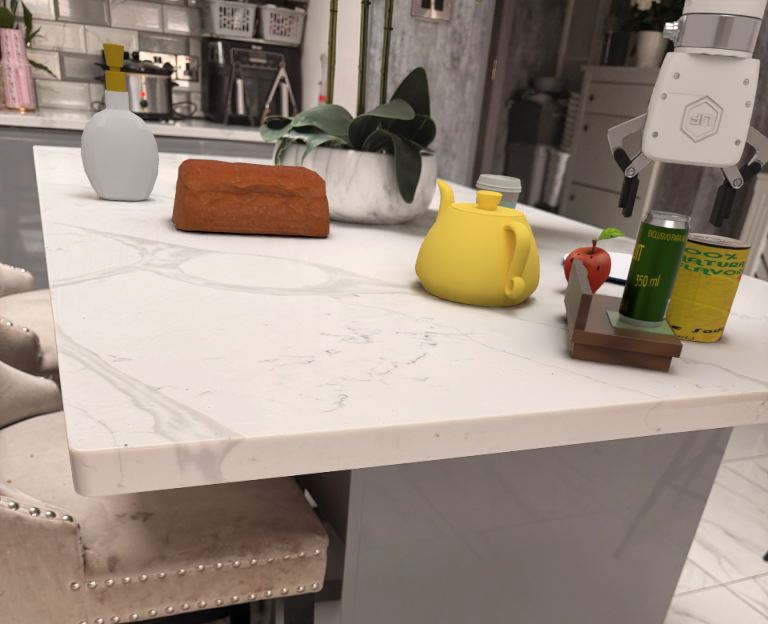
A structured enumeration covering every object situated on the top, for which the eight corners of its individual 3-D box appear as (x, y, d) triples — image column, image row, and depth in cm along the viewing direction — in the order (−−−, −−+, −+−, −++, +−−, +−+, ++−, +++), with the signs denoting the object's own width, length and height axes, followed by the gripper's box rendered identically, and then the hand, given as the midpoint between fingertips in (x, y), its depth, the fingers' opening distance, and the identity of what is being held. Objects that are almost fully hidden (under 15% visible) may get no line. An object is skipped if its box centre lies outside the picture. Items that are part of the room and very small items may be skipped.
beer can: (659, 318, 92) (688, 214, 86) (666, 330, 88) (698, 221, 82) (614, 312, 93) (640, 208, 87) (619, 324, 88) (647, 214, 82)
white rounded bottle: (154, 196, 156) (147, 47, 143) (165, 203, 149) (159, 48, 136) (80, 193, 149) (66, 38, 136) (88, 201, 143) (74, 39, 130)
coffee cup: (510, 252, 142) (523, 182, 136) (465, 245, 143) (475, 176, 137) (512, 244, 149) (523, 178, 143) (468, 238, 150) (478, 172, 144)
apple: (575, 300, 112) (591, 230, 108) (550, 288, 118) (564, 220, 113) (617, 300, 115) (634, 231, 110) (590, 289, 121) (606, 222, 116)
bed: (649, 328, 103) (665, 271, 99) (674, 375, 86) (694, 309, 82) (560, 315, 104) (573, 259, 100) (566, 359, 87) (582, 293, 83)
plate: (544, 269, 130) (545, 262, 129) (581, 251, 150) (583, 244, 149) (694, 300, 121) (696, 292, 120) (713, 276, 141) (715, 269, 140)
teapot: (379, 269, 117) (388, 173, 110) (476, 270, 125) (490, 179, 118) (461, 316, 98) (478, 203, 91) (570, 313, 105) (593, 208, 99)
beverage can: (727, 346, 99) (759, 250, 93) (657, 335, 100) (684, 240, 94) (713, 327, 107) (741, 238, 101) (648, 318, 108) (672, 229, 102)
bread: (169, 216, 138) (167, 152, 133) (313, 223, 147) (316, 163, 141) (178, 234, 125) (176, 163, 120) (334, 240, 134) (339, 175, 129)
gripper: (632, 30, 74) (593, 217, 82) (818, 45, 72) (759, 235, 80) (624, 35, 80) (589, 207, 89) (794, 49, 78) (742, 224, 87)
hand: (670, 220), depth 85 cm, fingers open, 9 cm apart
